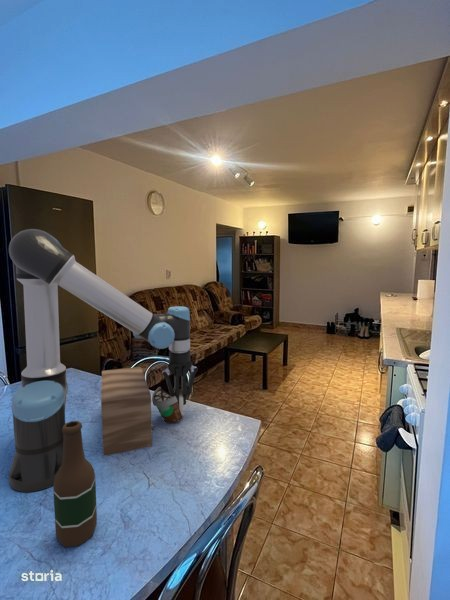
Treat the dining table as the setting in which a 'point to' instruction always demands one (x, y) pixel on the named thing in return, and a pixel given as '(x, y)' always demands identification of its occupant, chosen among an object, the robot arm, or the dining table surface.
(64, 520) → the beer bottle
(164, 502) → the dining table surface
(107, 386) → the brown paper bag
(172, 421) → the food container
